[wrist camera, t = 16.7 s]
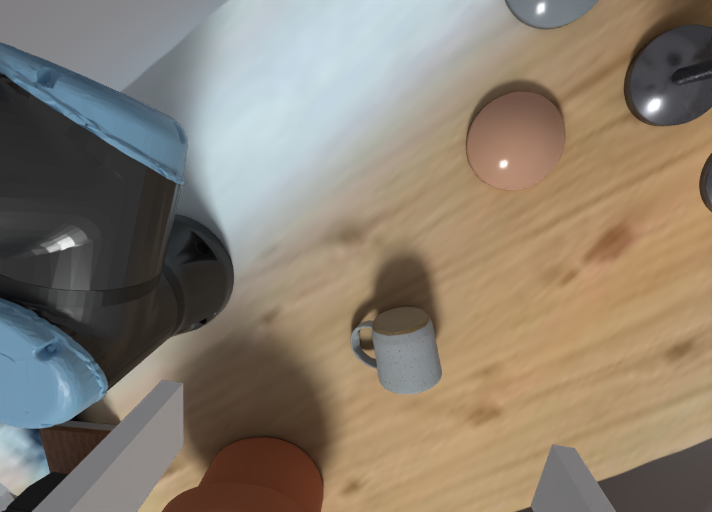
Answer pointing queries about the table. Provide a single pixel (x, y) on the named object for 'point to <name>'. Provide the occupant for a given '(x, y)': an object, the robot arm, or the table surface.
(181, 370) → the table surface
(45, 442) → the stacked white blocks
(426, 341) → the ceramic mug
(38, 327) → the robot arm
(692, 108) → the balance
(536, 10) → the grey round disc
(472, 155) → the pink disc
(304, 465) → the potted cactus
